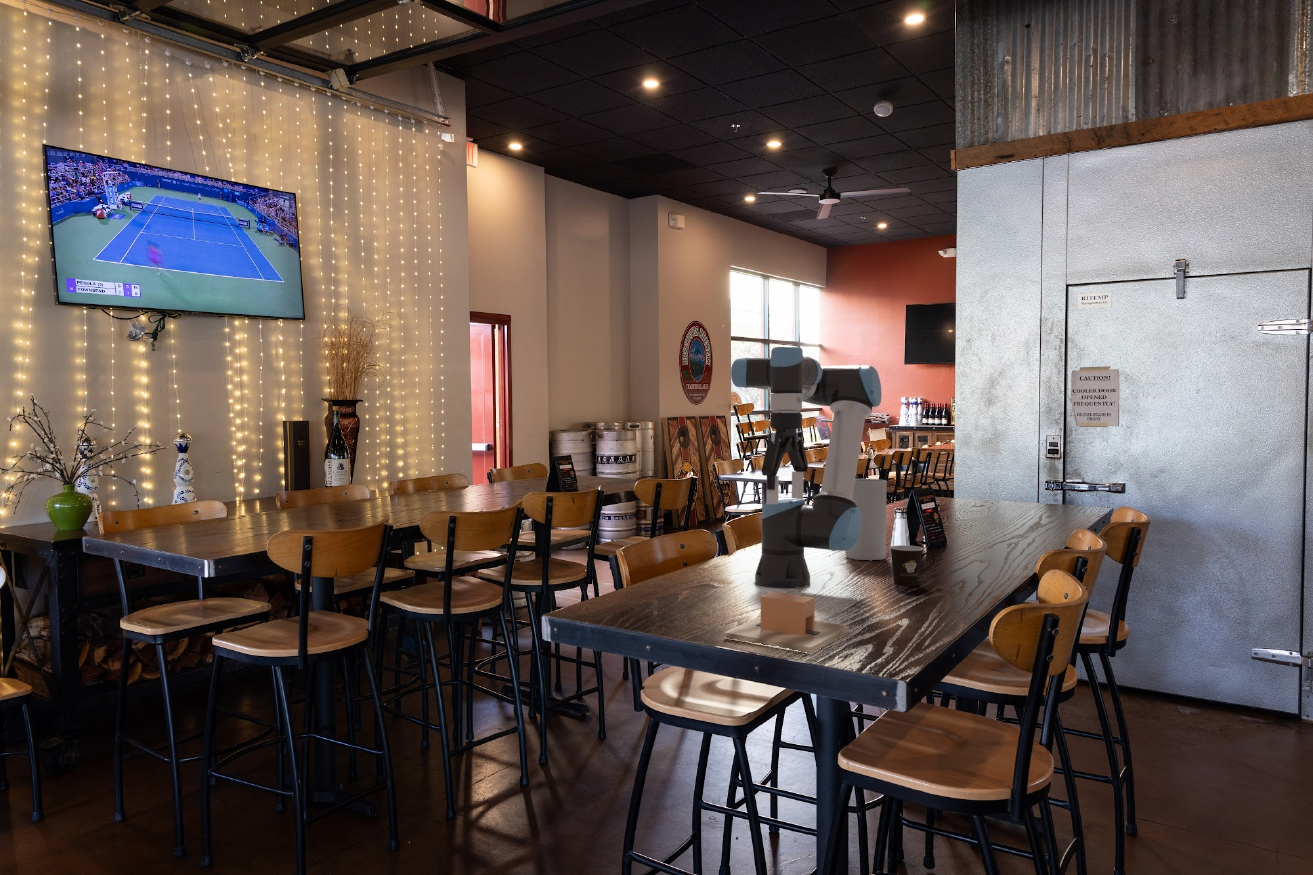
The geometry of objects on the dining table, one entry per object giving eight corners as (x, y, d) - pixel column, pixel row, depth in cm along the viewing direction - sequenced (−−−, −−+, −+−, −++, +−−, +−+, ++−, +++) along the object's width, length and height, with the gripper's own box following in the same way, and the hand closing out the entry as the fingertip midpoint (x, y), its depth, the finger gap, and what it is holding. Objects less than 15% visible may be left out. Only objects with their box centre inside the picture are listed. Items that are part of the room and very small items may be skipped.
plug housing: (760, 628, 190) (760, 596, 190) (772, 623, 194) (772, 591, 194) (803, 635, 184) (803, 602, 184) (814, 629, 189) (814, 597, 189)
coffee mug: (887, 585, 241) (888, 549, 241) (891, 579, 249) (892, 544, 249) (932, 589, 237) (932, 552, 236) (934, 582, 245) (935, 547, 244)
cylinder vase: (842, 554, 289) (843, 478, 288) (880, 554, 289) (881, 478, 288) (849, 561, 277) (850, 482, 275) (889, 561, 276) (890, 482, 275)
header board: (724, 639, 187) (724, 618, 187) (766, 619, 203) (767, 600, 203) (811, 654, 176) (811, 632, 175) (849, 632, 192) (849, 612, 192)
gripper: (776, 412, 196) (776, 507, 197) (822, 411, 217) (821, 497, 218) (747, 412, 200) (746, 505, 201) (794, 411, 221) (793, 495, 222)
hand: (785, 501), depth 210 cm, fingers open, 13 cm apart
